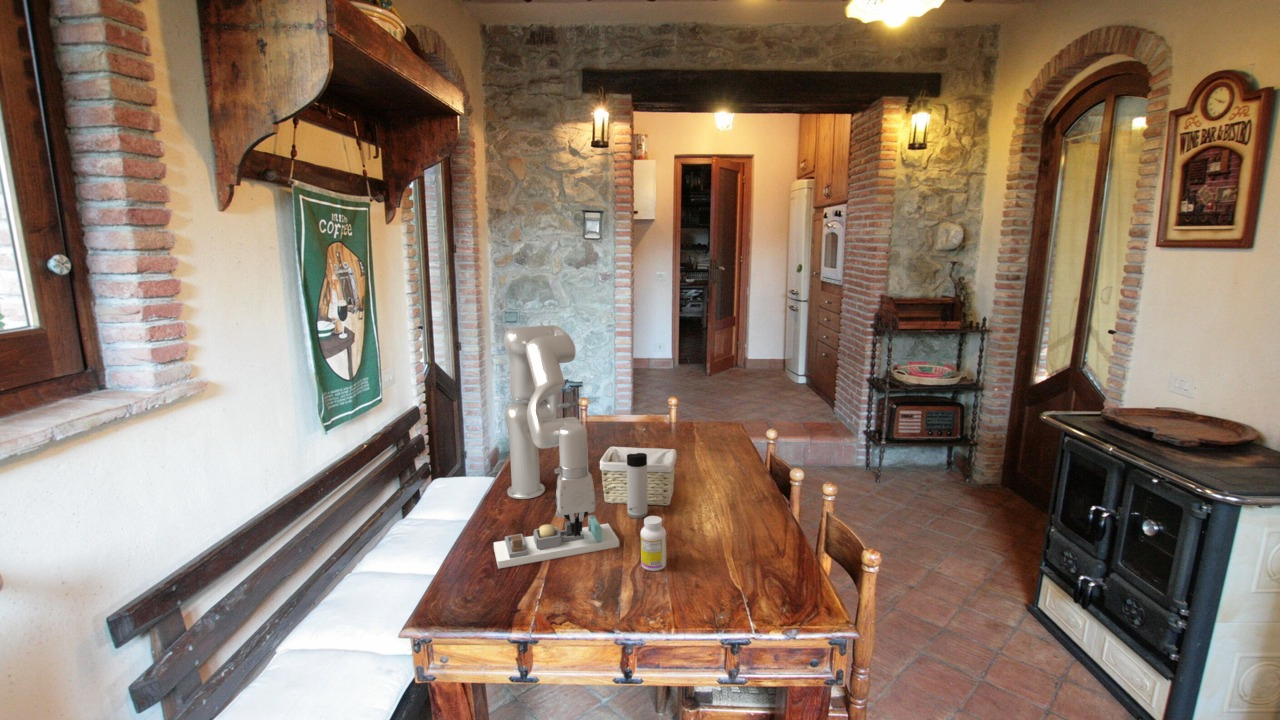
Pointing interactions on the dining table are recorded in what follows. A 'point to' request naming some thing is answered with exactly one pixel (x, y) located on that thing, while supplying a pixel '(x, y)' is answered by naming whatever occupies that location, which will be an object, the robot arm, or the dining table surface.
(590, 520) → the teal lever handle
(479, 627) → the dining table surface
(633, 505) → the travel mug
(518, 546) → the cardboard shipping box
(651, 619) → the dining table surface
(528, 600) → the dining table surface
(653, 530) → the supplement bottle
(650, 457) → the storage basket
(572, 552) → the board
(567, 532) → the grey rectangular block
